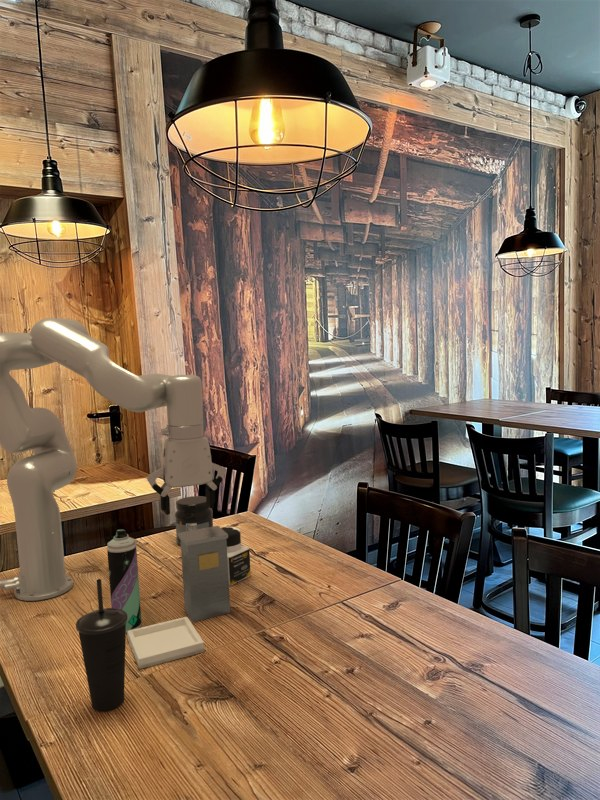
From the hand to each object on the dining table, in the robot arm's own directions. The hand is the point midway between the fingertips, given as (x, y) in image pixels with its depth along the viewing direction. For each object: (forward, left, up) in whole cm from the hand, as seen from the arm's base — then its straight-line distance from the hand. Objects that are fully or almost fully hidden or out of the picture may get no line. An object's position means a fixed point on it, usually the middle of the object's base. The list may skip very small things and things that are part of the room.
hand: (188, 509), depth 129 cm
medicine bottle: (+10, +6, -20) cm, 23 cm away
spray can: (-16, -7, -20) cm, 26 cm away
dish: (-11, -18, -20) cm, 29 cm away
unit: (0, -9, -20) cm, 22 cm away
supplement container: (+10, +36, -20) cm, 42 cm away
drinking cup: (-23, -31, -20) cm, 43 cm away
